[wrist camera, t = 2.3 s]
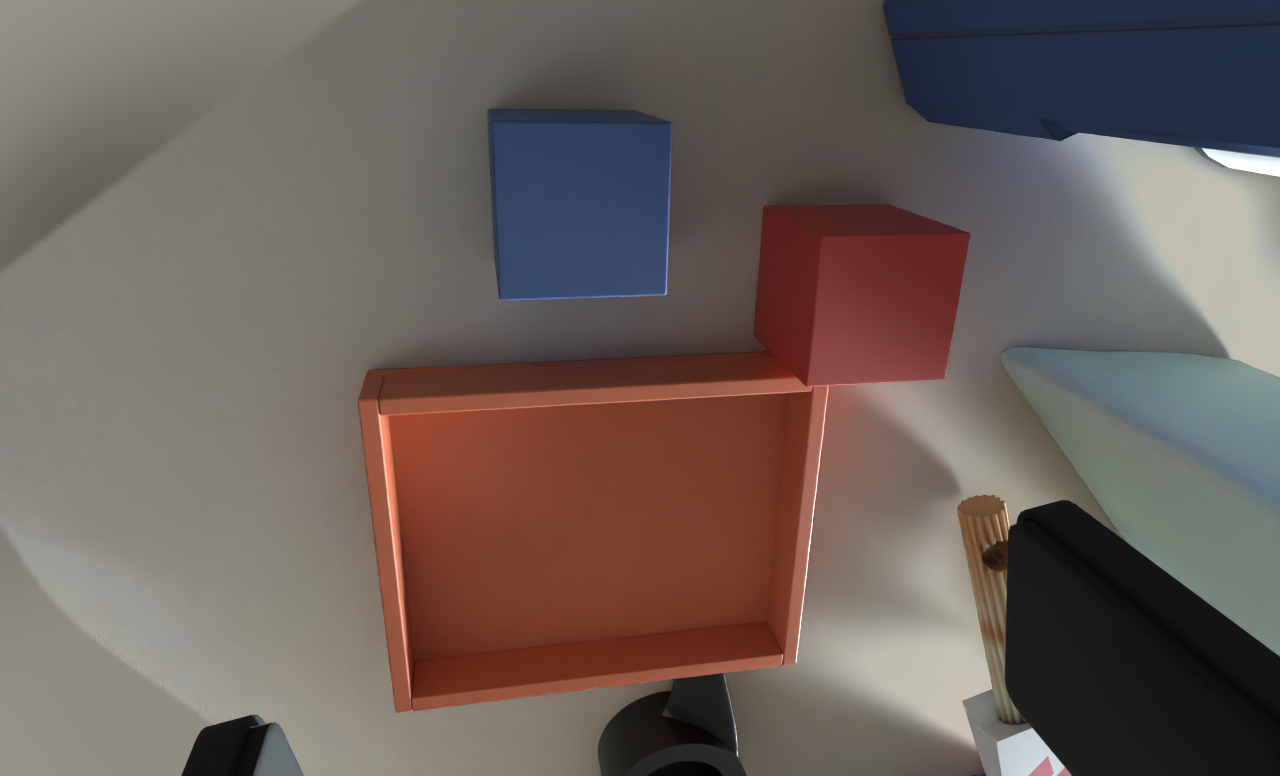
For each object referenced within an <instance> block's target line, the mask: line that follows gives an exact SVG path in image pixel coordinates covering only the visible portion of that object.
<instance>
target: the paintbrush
mask: <svg viewBox="0 0 1280 776" xmlns="http://www.w3.org/2000/svg"><path fill="white" fill-rule="evenodd" d="M958 516H959V521H960V526H961V531H962V535H963V540H964V545H965V550H966V555H967V560H968V565H969V570H970V576H971V581H972V586H973V591H974V596H975V602H976V607H977V612H978V617H979V622H980V628H981V633H982V638H983V643H984V647H985V652H986V657H987V662H988V667H989V672H990V677H991V682H992V687H993V689H991V690H989V691H986V692H984V693H981V694H979V695H976V696H974V697H971V698H969V699H966V700H964V701H962V702H963V705H964V708H965V711H966V714H967V717H968V721H969V724H970V727H971V730H972V733H973V736H974V739H975V743H976V746H977V749H978V752H979V755H980V758H981V761H982V765H983V768H984V771H985V774H986V776H1072V775H1071V774H1070V773H1069V771H1068V770H1067V769H1066V768H1065V767H1064V765H1063V764H1062V763H1061V762H1060V761H1059V759H1058V758H1057V757H1056V756H1055V755H1054V753H1053V752H1052V751H1051V750H1050V749H1049V747H1048V746H1047V745H1046V744H1045V743H1044V741H1043V740H1042V739H1041V738H1040V737H1039V735H1038V734H1037V733H1036V732H1035V731H1034V729H1033V728H1032V727H1031V726H1030V725H1029V723H1028V722H1027V721H1026V720H1025V719H1024V717H1023V716H1022V715H1021V714H1020V713H1019V711H1018V710H1017V709H1016V707H1015V706H1014V704H1013V703H1012V701H1011V699H1010V697H1009V694H1008V692H1007V689H1006V685H1005V642H1006V597H1007V552H1008V532H1009V529H1010V527H1009V521H1008V514H1007V507H1006V503H1005V502H1004V501H1002V499H1001V498H996V497H995V496H994V495H992V496H987V495H983V496H974V498H968V499H967V500H965V501H962V503H961V505H958ZM994 544H995V545H994ZM989 545H990V546H989ZM988 546H989V548H988ZM987 548H988V549H987Z"/></svg>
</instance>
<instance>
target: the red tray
mask: <svg viewBox="0 0 1280 776" xmlns="http://www.w3.org/2000/svg"><path fill="white" fill-rule="evenodd" d="M828 387H829V386H817V387H806V386H805V385H804V384H803V383H802V382H801V381H800V380H799V379H798V378H797V377H796V376H795V375H794V374H793V373H792V372H791V371H790V370H789V369H788V368H787V367H786V366H785V365H784V364H783V363H782V362H781V361H780V360H779V359H778V358H776V357H775V356H774V355H773V354H772V353H771V352H770V351H768V352H747V353H726V354H704V355H683V356H662V357H640V358H619V359H598V360H576V361H555V362H534V363H512V364H491V365H470V366H449V367H427V368H406V369H385V370H369V371H368V372H367V375H366V378H365V381H364V384H363V387H362V390H361V393H360V396H359V399H358V407H359V415H360V424H361V432H362V440H363V448H364V457H365V465H366V473H367V482H368V490H369V498H370V507H371V515H372V523H373V531H374V540H375V548H376V556H377V565H378V573H379V581H380V589H381V598H382V606H383V614H384V623H385V631H386V639H387V647H388V656H389V664H390V672H391V681H392V689H393V697H394V705H395V712H396V713H399V712H407V711H412V709H413V711H417V710H425V709H433V708H441V707H449V706H458V705H466V704H474V703H482V702H490V701H498V700H506V699H514V698H523V697H531V696H539V695H547V694H555V693H563V692H571V691H580V690H588V689H596V688H604V687H612V686H620V685H628V684H636V683H645V682H653V681H661V680H669V679H677V678H685V677H693V676H701V675H710V674H718V673H726V672H734V671H742V670H750V669H758V668H767V667H775V666H781V665H789V664H795V663H796V660H797V652H798V643H799V635H800V626H801V617H802V609H803V600H804V592H805V583H806V575H807V566H808V558H809V549H810V541H811V532H812V524H813V515H814V507H815V498H816V490H817V481H818V473H819V464H820V456H821V447H822V439H823V430H824V421H825V413H826V404H827V396H828Z"/></svg>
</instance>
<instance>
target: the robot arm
mask: <svg viewBox="0 0 1280 776" xmlns="http://www.w3.org/2000/svg"><path fill="white" fill-rule="evenodd" d="M1005 685H1006V689H1007V692H1008V694H1009V697H1010V699H1011V701H1012V703H1013V704H1014V706H1015V707H1016V709H1017V710H1018V711H1019V713H1020V714H1021V715H1022V716H1023V717H1024V719H1025V720H1026V721H1027V722H1028V723H1029V725H1030V726H1031V727H1032V728H1033V729H1034V731H1035V732H1036V733H1037V734H1038V735H1039V737H1040V738H1041V739H1042V740H1043V741H1044V743H1045V744H1046V745H1047V746H1048V747H1049V749H1050V750H1051V751H1052V752H1053V753H1054V755H1055V756H1056V757H1057V758H1058V759H1059V761H1060V762H1061V763H1062V764H1063V765H1064V767H1065V768H1066V769H1067V770H1068V771H1069V773H1070V774H1071V775H1072V776H1280V656H1279V655H1277V654H1276V653H1275V652H1273V651H1272V650H1271V649H1269V648H1268V647H1266V646H1265V645H1264V644H1262V643H1261V642H1260V641H1258V640H1257V639H1256V638H1254V637H1253V636H1252V635H1250V634H1249V633H1248V632H1246V631H1245V630H1244V629H1242V628H1241V627H1240V626H1238V625H1237V624H1236V623H1234V622H1233V621H1232V620H1230V619H1229V618H1228V617H1226V616H1225V615H1224V614H1222V613H1221V612H1220V611H1218V610H1217V609H1215V608H1214V607H1213V606H1211V605H1210V604H1209V603H1207V602H1206V601H1205V600H1203V599H1202V598H1201V597H1199V596H1198V595H1197V594H1195V593H1194V592H1193V591H1191V590H1190V589H1189V588H1187V587H1186V586H1185V585H1183V584H1182V583H1181V582H1179V581H1178V580H1177V579H1175V578H1174V577H1173V576H1171V575H1170V574H1169V573H1167V572H1166V571H1165V570H1163V569H1162V568H1160V567H1159V566H1158V565H1156V564H1155V563H1154V562H1152V561H1151V560H1150V559H1148V558H1147V557H1146V556H1144V555H1143V554H1142V553H1140V552H1139V551H1138V550H1136V549H1135V548H1134V547H1132V546H1131V545H1130V544H1128V543H1127V542H1126V541H1124V540H1123V539H1122V538H1120V537H1119V536H1118V535H1116V534H1115V533H1114V532H1112V531H1111V530H1110V529H1108V528H1107V527H1105V526H1104V525H1103V524H1101V523H1100V522H1099V521H1097V520H1096V519H1095V518H1093V517H1092V516H1091V515H1089V514H1088V513H1087V512H1085V511H1084V510H1083V509H1081V508H1080V507H1079V506H1077V505H1076V504H1074V503H1072V502H1070V501H1067V500H1061V501H1057V502H1053V503H1049V504H1046V505H1042V506H1038V507H1034V508H1031V509H1027V510H1024V511H1022V512H1021V513H1020V514H1019V516H1018V519H1017V524H1015V525H1013V526H1011V527H1010V529H1009V532H1008V552H1007V597H1006V642H1005ZM181 776H304V774H303V772H302V770H301V768H300V766H299V764H298V762H297V759H296V757H295V755H294V753H293V751H292V749H291V747H290V745H289V743H288V741H287V738H286V736H285V734H284V732H283V730H282V728H281V727H280V725H279V724H277V723H276V722H274V723H269V724H265V722H264V721H263V719H262V718H261V717H260V716H258V715H250V716H246V717H242V718H238V719H234V720H231V721H227V722H223V723H219V724H216V725H212V726H208V727H205V728H204V729H203V730H201V732H200V733H199V735H198V737H197V739H196V741H195V743H194V746H193V748H192V751H191V753H190V756H189V758H188V761H187V763H186V766H185V768H184V771H183V773H182V775H181Z"/></svg>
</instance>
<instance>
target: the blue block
mask: <svg viewBox="0 0 1280 776" xmlns="http://www.w3.org/2000/svg"><path fill="white" fill-rule="evenodd" d="M487 117H488V137H489V158H490V179H491V200H492V221H493V242H494V259H495V268H496V276H497V285H498V293H499V299H500V300H502V301H505V300H536V299H567V298H597V297H628V296H659V295H666V293H667V273H668V244H669V214H670V185H671V156H672V127H673V125H672V122H670V121H666V120H663V119H660V118H657V117H654V116H651V115H648V114H645V113H642V112H639V111H636V110H565V109H488V111H487Z"/></svg>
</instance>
